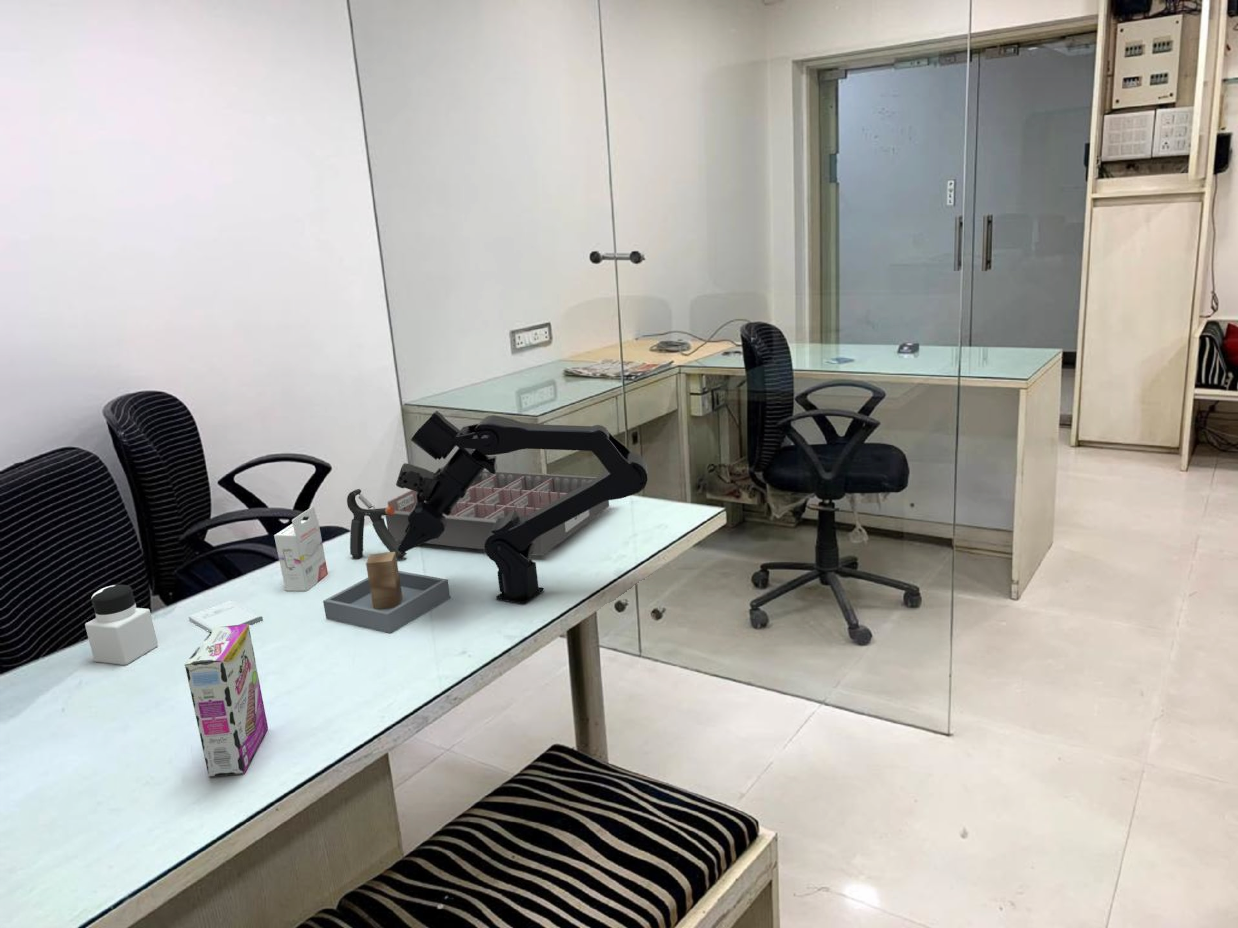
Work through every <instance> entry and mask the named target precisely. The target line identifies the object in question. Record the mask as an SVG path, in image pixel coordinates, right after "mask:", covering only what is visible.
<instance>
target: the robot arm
mask: <svg viewBox="0 0 1238 928" xmlns="http://www.w3.org/2000/svg"><path fill="white" fill-rule="evenodd" d="M410 442H412V443H413V444H415V445H416V446H417V447H419V449H421V450H422V451H424V453H426V454H428V455H429V456H430V457H431V458H433V459H434V460H435V461H436V460H439V461H440V460H441V459H443V460H446V459H447V457H448V456H449V455H450V453H451V452H452V451H453V450H454V448H455V447H458V449H457V450H456V451H455V452H454V453H453V455H452V456H451V457H450V458H449V460H448V461H447V462H446V464H445V465H444V466H443V467H439V468H437V470H436V471H435V472H433V471H431V470H428V469H426V468H423V467H419V466H418V465H414V464H411V463H403V464H402V465H401V467H400V470H399V474H398V477H397V480H396V483H395V486H396V487H397V488H399V489H407V490H409V491H410V490H413V491H416V492H418V493H417V502H418V503H416V505H415V506H414V507H413V508H412V510H411V511H410V512H409V515H408V521H409V524H408V526H407V528H406V530H405V533H406V534H405V536H404V538H403V540H402V541H401V542H400V543H399V547H398V551H400V552H401V553H404V552H406V553H407V552H408V551H410V550H412V549H414V548H417V547H418V546H420V545H422V544H426V543H425V542H427V541H429V540H432V539H435V538H439V536H440V535H441V534H442V533H443V532H444V530H445V527H446V519H445V516H443V514H446V515H447V516H448V515H449V514H450V513H451V511H452V508H453V507H454V505H455V504H456V503H457V502H458V500H459V499H460V498H463V497H464V496H465V495H466V491H467V490H468V488H469V487H470V486H471V485H472V483H473V482H474V481H475V480H476V479H477V477H478V476H479V475H480V474H481V472H482V471H483V470H488V471H489V472H490V473H492V474H495V472H496V471H498V466H497V458H498V457H497V456H496V455H504V454H509V453H513V452H517V451H519V450H521V451H522V450H552V451H554V450H555V451H556V450H558V451H580V452H581V451H584V452H586V451H587V452H592V453H593V454H594V455H595V456H596V458H597V459H598V460H599V462H600V463H601V464H602V465H603V467H604V468H605V469H603V471H602V472H601V473H600V474H599V475H598V476H596V477H597V478H596V479H594V480H592V481H590V482H589V483H587V484H585V485H583V486H581V487H579V488H577V489H576V490H574V491H572V492H570V493H568V494H566V495H564V496H563V497H561V498H559V499H557V500H555V501H553V502H552V503H550V504H548V505H546V506H544V507H542V508H540V509H539V510H537V511H535V512H533V513H531V514H529V515H524V516H518V514H517V511H516V510H514V511H513V512H511V513H510V514H509V515H507V516H506V517H503V518H498V519H497V521H496V523H495V525H494V526H493V528H492V529H491V531H490V533H489V536H488V538H487V540H486V542H485V549H484V552H485V554H486V556H487V558H489V559H490V560H491V561H492V562H494V563H495V565H496V567H497V569H498V571H496V572H497V578H498V579H497V580H498V589H499V592H500V593H499V594H497V595H496V596H495V597H496V600H498V601H499V600H500V601H505V602H510V603H516V604H519V605H520V604H522V605H524V604H527V603H528V602H530V601H532V600H533V599H534V598H536V597H537V596H539V595H540V594H541V593H540V592H542V591H543V590H544V591H545V588H544V587H542V586H541V587H539V580H538V573H537V571H538V570H537V563H536V561H533V560H532V559H531V557H532V556H533V554H532V553H533V549H534V543H532V542H533V541H534V540H535V539H536V538H537V537H539V536H541V535H542V534H544V533H546V532H548V531H550V530H552V529H554V528H555V527H557V526H559V525H561V524H563V523H565V522H567V521H569V520H570V519H572V518H574V517H576V516H578V515H580V514H582V513H584V512H585V511H587V510H589V509H591V508H593V507H595V506H597V505H598V504H600V503H602V502H604V501H608V500H609V501H612V500H613V501H614V500H621V499H624V498H627V497H630V496H633V495H635V494H636V495H637V494H638V493H640V492H642V491H643V490H644V489H645V488H646V487H647V486H646V485H647V484H648V483H647V482H648V475H649V474H648V470H649V469H648V464H647V461H646V459H645V458H644V457H643V456H642V455H640V454H639V453H635V452H632V451H631V450H630V449H629V448H628V447H627V446H626V445H625V444H624V443H623V442H621V441H620V440H618V439H617V438H616V437H615V436H614V435H612V434H611V432H610V431H609V430H608V429H607V428H606V427H605V426H604V425H602V424H601V425H599V424H596V425H595V424H594V425H592V426H591V425H570V424H569V425H567V424H566V425H565V424H563V425H562V424H540V423H539V424H536V423H535V424H534V423H533V424H532V423H530V424H529V423H526V422H521V421H519V420H517V419H513V418H509V417H504V416H499V415H487V416H485V417H484V418H483V419H481V421H479V423H475V424H471V425H465V426H463V427H461V428H460V429H459V428H458V427H457V426H455V425H454V424H453V423H452V422H450V421H449V420H447V419H446V418H445V417H444V415H443V414H442V413H441V412H439V411H438V410H435V411H434V412H433V413H432V415H430V417H429V418H428V419H427V420H426V421H425V422H424V423H423V424H422V425H421V426H420V427H419V428H418V430H417V431H416V432H415V433H414V434H413V436H412V437H411V438H410ZM544 591H543V592H544ZM543 592H542V593H543ZM539 593H540V594H539ZM538 594H539V595H538ZM535 596H536V597H535Z"/></svg>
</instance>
